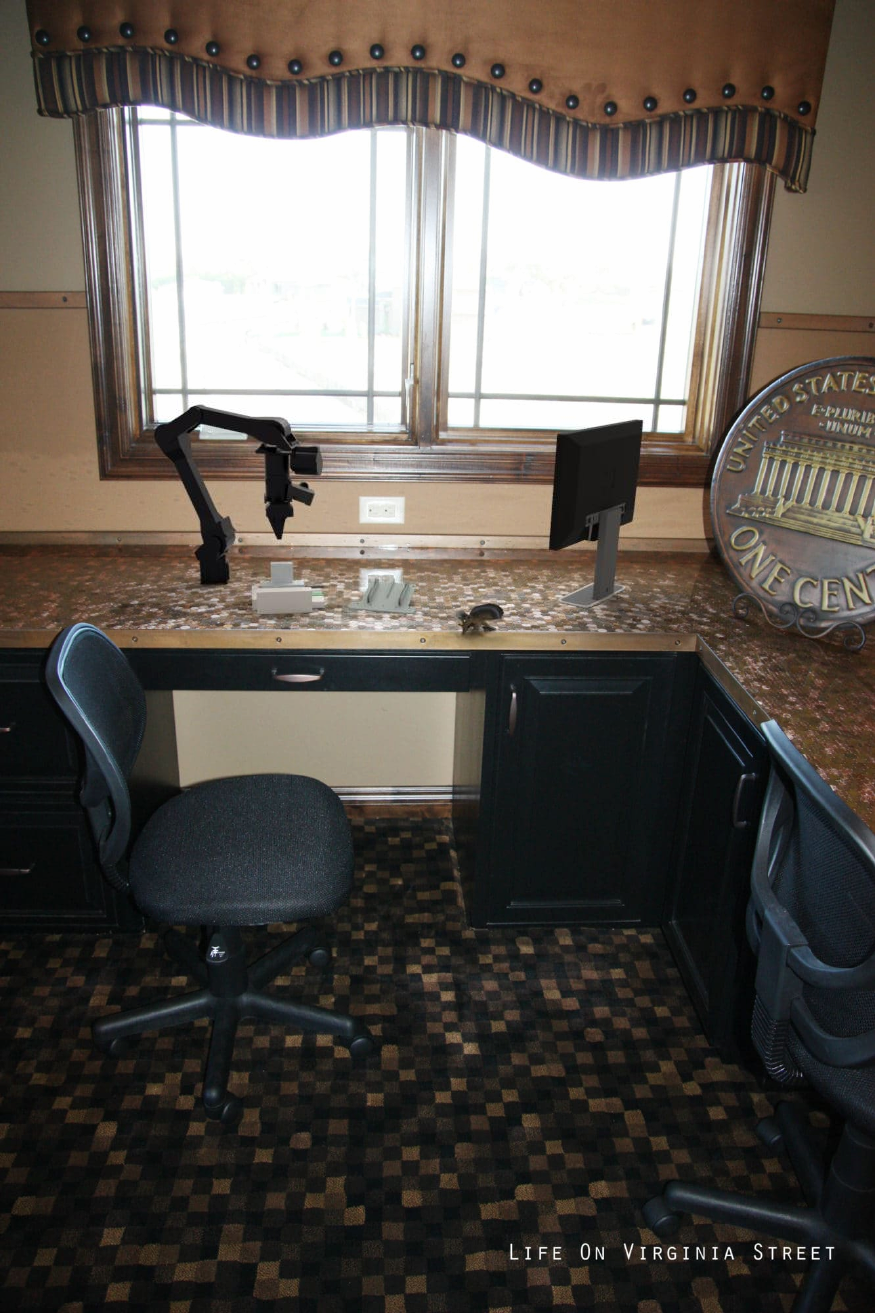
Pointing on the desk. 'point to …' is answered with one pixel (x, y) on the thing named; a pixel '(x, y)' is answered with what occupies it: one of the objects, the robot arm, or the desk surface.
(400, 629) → the desk surface
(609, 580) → the computer monitor
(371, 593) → the metal bracket
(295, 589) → the gauge housing
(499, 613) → the animal figurine
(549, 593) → the desk surface
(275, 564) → the gauge plunger
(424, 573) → the desk surface
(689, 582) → the desk surface
